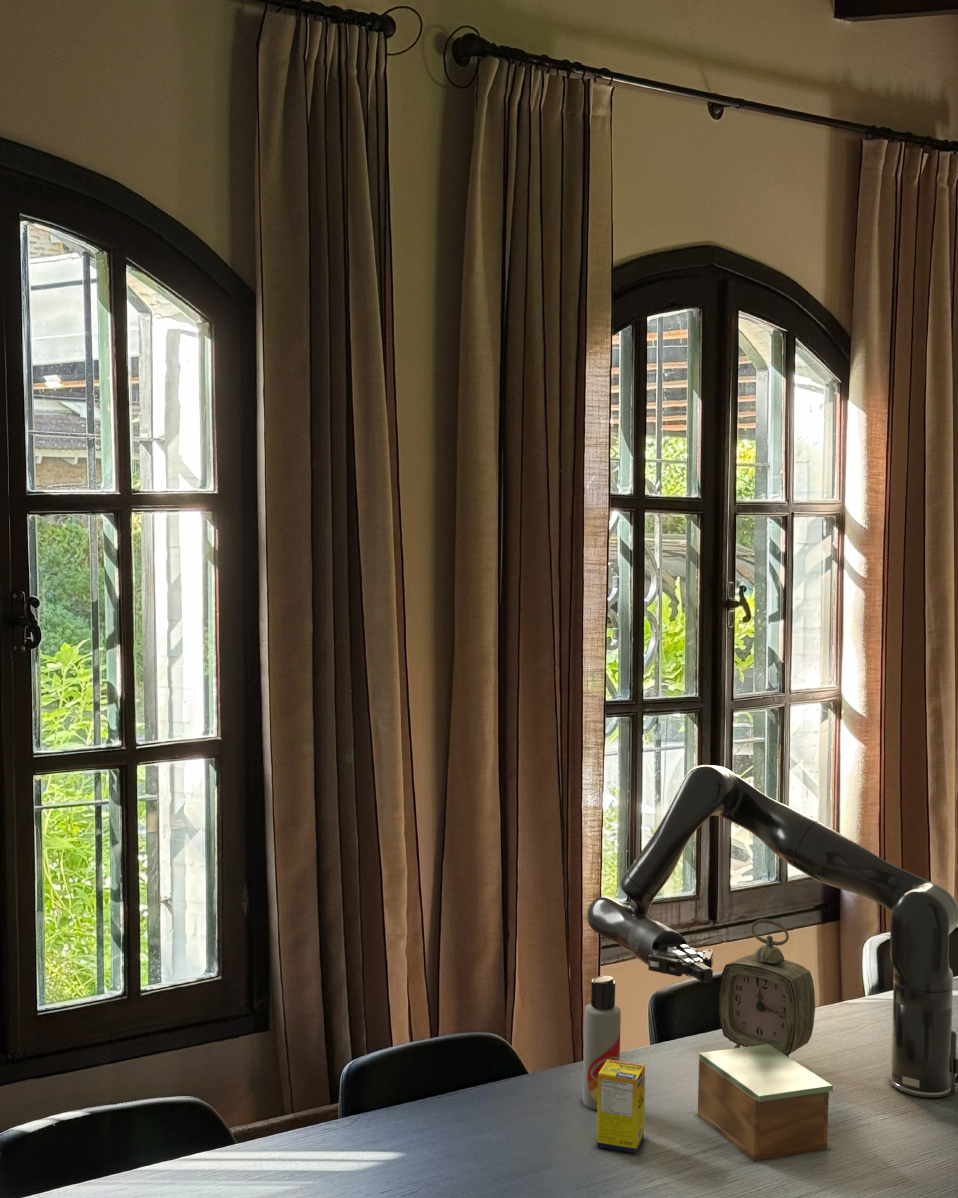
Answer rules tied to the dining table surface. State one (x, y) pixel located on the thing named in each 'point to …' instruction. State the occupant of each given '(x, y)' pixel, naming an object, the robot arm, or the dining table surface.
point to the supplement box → (621, 1106)
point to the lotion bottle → (599, 1035)
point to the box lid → (765, 1072)
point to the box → (762, 1118)
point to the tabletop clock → (767, 998)
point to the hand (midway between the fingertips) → (708, 976)
